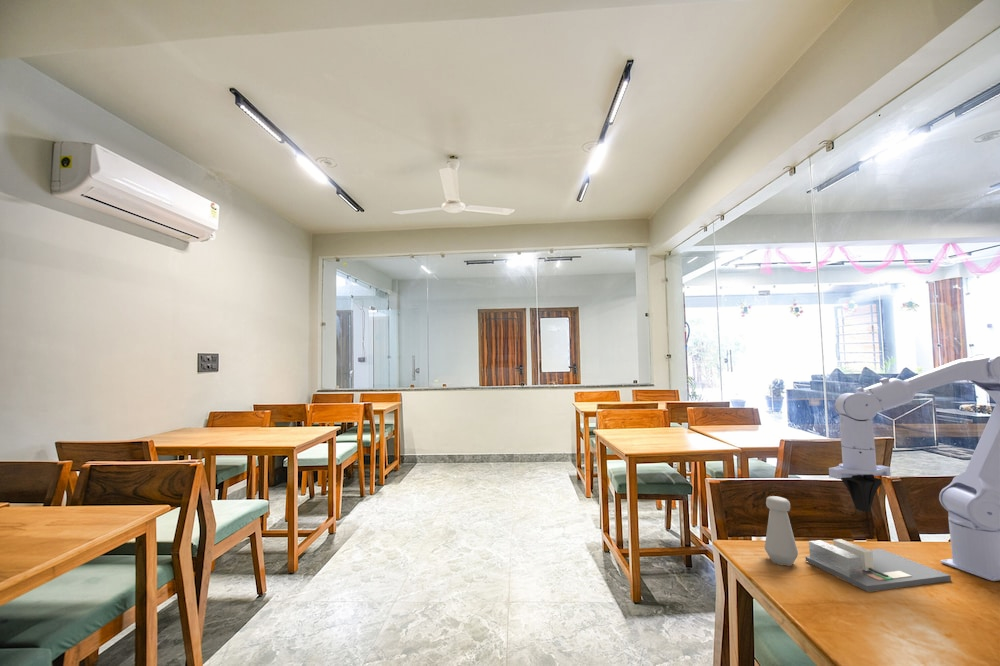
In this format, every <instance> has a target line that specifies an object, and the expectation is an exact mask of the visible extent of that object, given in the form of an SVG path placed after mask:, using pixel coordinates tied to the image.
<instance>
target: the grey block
mask: <svg viewBox="0 0 1000 666" xmlns="http://www.w3.org/2000/svg"><path fill="white" fill-rule="evenodd" d="M808 549H809V550H808V551H809V556H810V559H811V560H814V561H816V562H818V563H820V564H822V565H824V566H826V567H828V568H830V569H832V570H835V571H837V572H839V573H841V574H843V575H845V576H847V577H849V578H853V577H861V576H863V573H862V560H861V557H860V556H858V555H855V554H853V553H850V552H848V551H846V550H843V549H841V548H838V547H836V546H834V544H831V543H828V542H826V541H823V540H822V539H817V540H809V541H808Z"/></svg>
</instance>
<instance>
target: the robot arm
mask: <svg viewBox="0 0 1000 666" xmlns="http://www.w3.org/2000/svg"><path fill="white" fill-rule="evenodd" d="M878 381H879V382H878V383H874V384H872V385H868V386H867V387H861V386H860V387H857V388H855V391H856V392H854V393H853V392H845V393H842V394H840V395H838V397H837V398H836V399H835V401H834V403H833V409H834V411H835V412H836V413H837V414H838V415H839V431H840V432H839V434H840V445H841V447H840V448H841V449H840V450H841V458H842V461H841V462H842V463H839V464H838V465H837V466H834V467H828V477H829V478H833V479H837V480H841V482H842V483H843V484H844V485H845V487H846V489H847V490H848V494H849V495H850V497H851V499H852V502H853V505H854V508H855V510H858V511H861V512H865V513H867V512H869V513H870V512H871V510H872V505H873V501H874V497H875V495H876V493H877V491H878V489H879V488H880V487H881V485H883V483H882V479H881V478H877V477H878V476H879V477H880V476H884V477H885V476H886V477H890V476H891V467H890V466H885V465H882V464H878V465H877V455H876V443H875V432H874V421H873V419H874V418H875V417H876V415H877V414H879V413H883V412H885V411H888V410H891V409H894V408H898V407H901V406H902V405H905V404H908V403H911V402H913V401H914V397H915V395H917V394H918V393H922V392H923V393H924V392H925V391H928V390H933V389H935V388H938V387H942V386H946V385H948V384H953V383H955V382H959V381H969V382H970V383H972V384H974V386H975V385H976V386H977V387H978V388H980V389H981V390H983V391H984V392H985V393H987V394H988V395H989V397H990V398H991V399H992V400H993V401H994V402H995V406H994V407H993V410H992V412H991V414H990V416H989V419H988V420H987V423H986V425H985V428H984V429H983V431H982V434H981V436H980V439H979V441H978V443H977V445H976V448H975V449H974V450H973V451H974V452H973V453H972V455H971V458H970V460H969V462H968V465H967V466H966V468H965V471H964V472H962V473H960V474H958V475H955V476H954V477H953V478H952V481H951V482H950V483H949V484H948V485H946V486H945V487H943V488H942V489H941V491H940V492H939V496H938V499H939V502H940V504H941V506H942V507H943V508H944V509H945V510H946V511H947V512H948V516H947V517H948V529H949V539H950V547H951V549H950V550H951V556H952V558H947V559H946V558H945V559H940V563H941V564H945V565H947V566H949V567H952V568H955V569H957V570H960V571H963V572H966V573H969V574H971V575H974V576H977V577H979V578H983V579H985V580H988V581H991V582H996V581H1000V354H999V353H997V354H974V355H970V356H968V357H967V358H966V357H965V358H959V359H956V360H953V361H950V362H948V363H947V362H946V363H944V364H943V365H940V366H937V367H935V368H932V369H930V370H927V371H925V372H922V373H919V374H917V375H915V376H912V377H909V378H907V379H904V380H903V379H899V378H896V377H892V378H891V377H890V378H889V377H883V378H880V379H878ZM876 476H877V477H876Z"/></svg>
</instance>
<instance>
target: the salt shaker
mask: <svg viewBox="0 0 1000 666" xmlns="http://www.w3.org/2000/svg"><path fill="white" fill-rule="evenodd" d="M765 504H766V508H768V509H769V513H768V520H767V527H766V534H765V535H766V536H765V543H764V550H765V552H766V553H767V555H768V557H769V559H770V561H771V562H772V563H774V564H776V563H777V564H776V565H779V566H783V565H787V566H786V567H792V566H793V565H794V564H793V563H795V562H796V559H797V557H798V547H797V543H796V540H795V536H794V532H793V529H792V524H791V521H790V516H789V513H788V512H790V510H791V503H790V501H789V499H787V498H785V497H782V496H777V495H776V496H775V495H772V496H771V495H769V496H767V497H766V501H765ZM792 564H793V565H792ZM791 565H792V566H791Z"/></svg>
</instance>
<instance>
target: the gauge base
mask: <svg viewBox="0 0 1000 666" xmlns="http://www.w3.org/2000/svg"><path fill="white" fill-rule="evenodd" d="M869 550H870V551H872V552H873V564H874V569H875V570H877V571H879V572H882V573H884V574H886V575H888V577H884V576H882V575H880V574H878V573H875V572H873V571H864V570H862V573H863V576H861V577H853V578H849V577H847V576H845V575H843V574H841V573H839V572H837V571H835V570H832V569H830V568H828V567H826V566H824V565H822V564H820V563H818V562H816V561H814V560H811V559H810V555H809V556H805V562H806V561H808V562H809V563H808V562H807V563H808V564H810V563H811V564H810V565H812V564H813V565H812V566H814V565H815V566H814V567H816V568H818V567H819V568H818V569H820V568H821V569H820V570H822V569H823V570H822V571H824V572H826V573H828V574H830V573H831V575H833V576H834V575H835V577H836V576H837V577H836V578H838V577H839V579H840V578H841V579H840V580H842V579H843V580H842V581H844V580H845V582H847V583H848V584H850V585H853V586H855V587H856V588H859V589H861V590H862V591H866V592H867V593H868V592H877V591H884V590H891V589H892V590H893V589H899V588H908V587H915V586H921V585H930V584H931V585H932V584H938V583H944V582H945V583H947V582H951V581H952V575H950V574H947V573H945V572H943V571H940V570H939V569H934V568H932V567H930V566H927V565H924V564H922V563H921V562H920V563H919V562H917V561H914V560H911V559H909V558H906V557H903V556H901V555H899V554H896V553H893V552H890V551H888V550H885V549H883V548H873V549H869Z"/></svg>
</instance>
